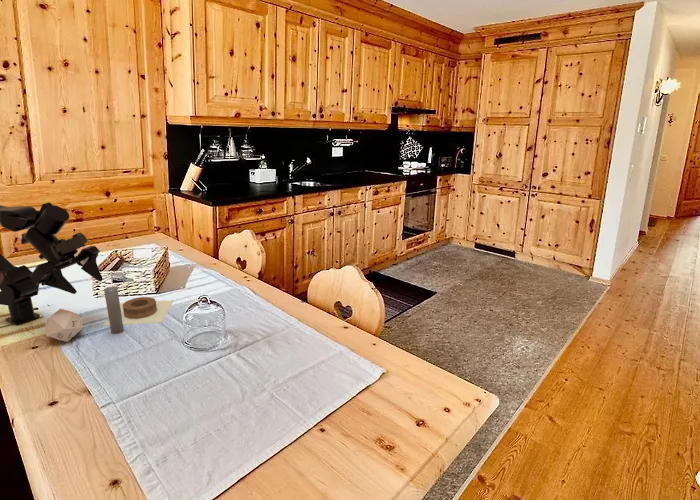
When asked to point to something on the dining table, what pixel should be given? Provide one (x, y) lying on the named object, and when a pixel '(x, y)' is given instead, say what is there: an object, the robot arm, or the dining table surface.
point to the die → (63, 325)
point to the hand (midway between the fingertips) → (89, 286)
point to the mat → (155, 318)
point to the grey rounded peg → (114, 310)
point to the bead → (139, 307)
